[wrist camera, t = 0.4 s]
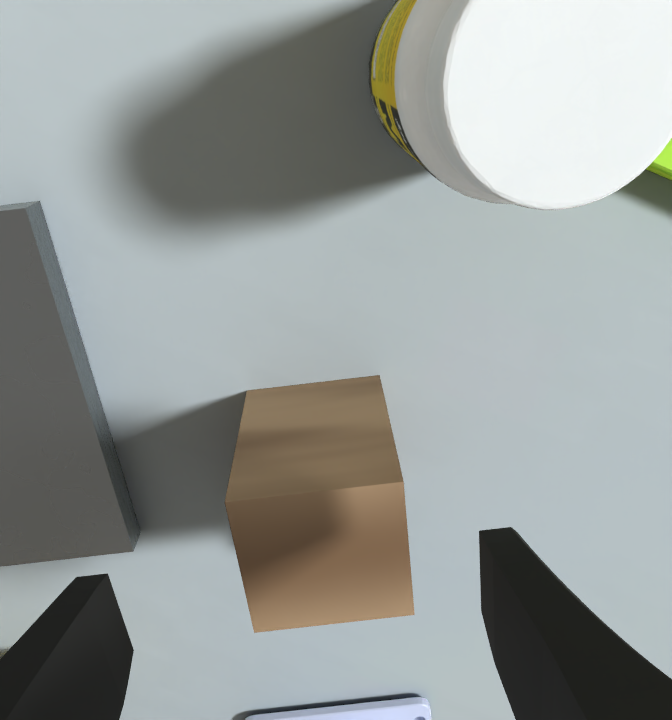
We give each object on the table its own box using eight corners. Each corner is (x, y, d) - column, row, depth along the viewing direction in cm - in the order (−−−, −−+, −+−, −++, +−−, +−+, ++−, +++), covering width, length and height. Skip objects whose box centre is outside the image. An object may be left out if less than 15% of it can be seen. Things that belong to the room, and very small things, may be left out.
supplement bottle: (336, 112, 18) (355, 146, 10) (423, -69, 16) (528, -194, 8) (481, 193, 19) (600, 280, 11) (578, 32, 17) (797, 4, 9)
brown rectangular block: (392, 511, 23) (417, 646, 18) (273, 525, 23) (261, 663, 18) (379, 374, 21) (403, 481, 16) (246, 390, 21) (224, 502, 16)
